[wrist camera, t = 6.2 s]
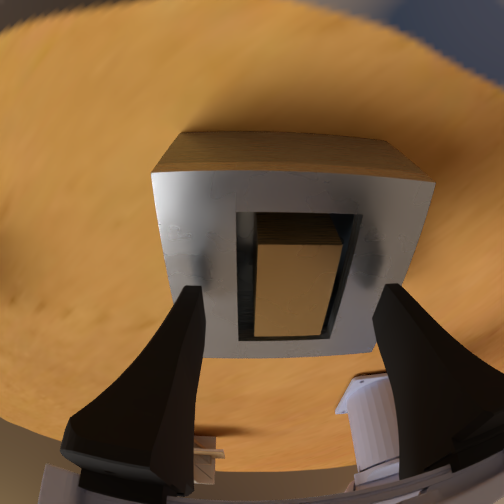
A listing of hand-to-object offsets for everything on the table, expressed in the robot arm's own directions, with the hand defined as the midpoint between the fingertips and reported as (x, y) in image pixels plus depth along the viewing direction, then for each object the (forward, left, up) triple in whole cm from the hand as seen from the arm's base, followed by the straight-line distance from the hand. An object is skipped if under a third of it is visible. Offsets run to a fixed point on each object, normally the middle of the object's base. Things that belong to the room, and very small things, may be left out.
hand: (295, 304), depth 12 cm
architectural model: (+9, +31, -7) cm, 33 cm away
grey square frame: (0, 0, -6) cm, 6 cm away
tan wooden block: (0, 0, -5) cm, 5 cm away
